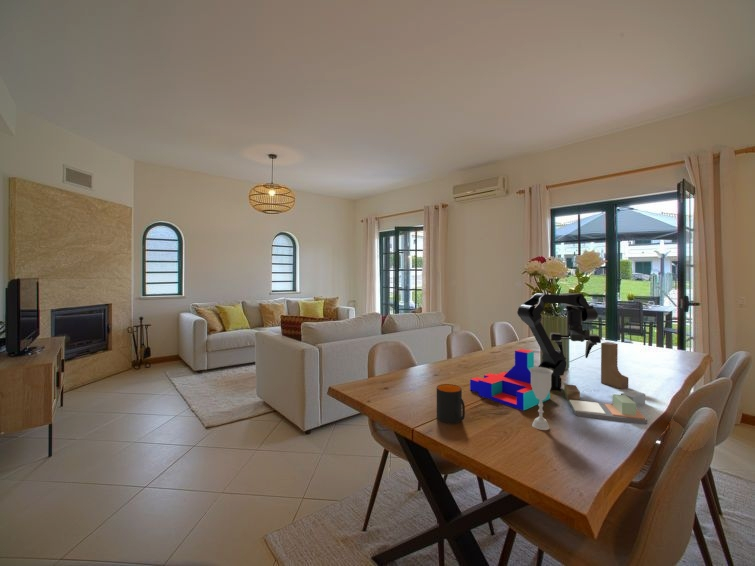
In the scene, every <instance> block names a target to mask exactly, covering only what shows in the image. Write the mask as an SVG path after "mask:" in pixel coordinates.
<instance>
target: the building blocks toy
mask: <svg viewBox="0 0 755 566" xmlns="http://www.w3.org/2000/svg"><path fill="white" fill-rule="evenodd" d="M534 355H535V351H533V350H530V349H529V350H528V349H523V348H520V349H516V350H514V365H513V366H512V367H511V368H510V369H509V370H508V371H504V372H500V373H497V374H495V373H491V372H490V373H487V374H484V375H483V378H481V377H479V376H477V377H474V378H470V379H469V384H470V385H469V390H470V391H471V390H472V391H471V392H474V391H475V392H474V393H477V392H478V393H477V394H478V396H479V397H481V396H482V397H481V398H484V397H485V398H484V399H487V398H489V399H488V400H490V399H492V400H491V401H493V400H494V402H496V401H497V403H499V402H500V403H499V404H502V403H503V404H502V405H506V406H508V407H512V408H515V409H517V410H520V411H522V412H523V411H525V410H528V409H530V408H532V407H534V406H535V407H536V406H537V405H538V404H539V399H537V398H536V396H535V394H534V392H533V389H532V386H531V372H530V370H529V369H530V368H532V367H535V365H534V360H535V359H534V357H535V356H534ZM550 393H551V390H550V391H549V394H548V395H547V397H546V399H544V400H543V401H542V403H544V402H546V401H548V400H550V399H551V394H550Z"/></svg>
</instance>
